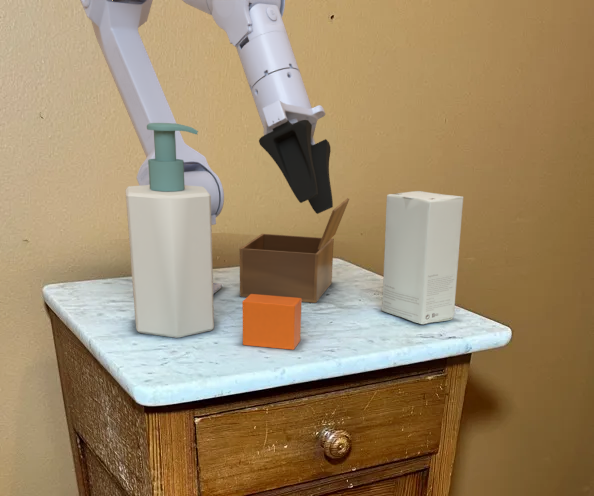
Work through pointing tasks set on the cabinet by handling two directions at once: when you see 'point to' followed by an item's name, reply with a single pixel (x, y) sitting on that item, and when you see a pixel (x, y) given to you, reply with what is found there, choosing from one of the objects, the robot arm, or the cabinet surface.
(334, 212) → the flap
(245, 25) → the robot arm
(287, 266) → the carton
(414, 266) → the cosmetic box
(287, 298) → the block
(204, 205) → the soap bottle
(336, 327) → the cabinet surface
